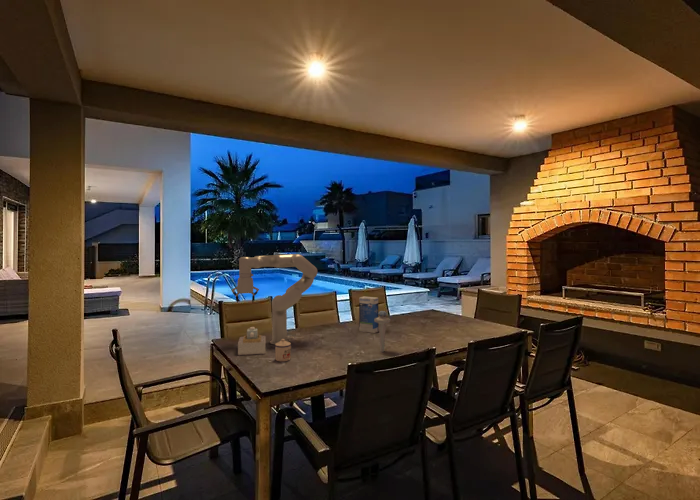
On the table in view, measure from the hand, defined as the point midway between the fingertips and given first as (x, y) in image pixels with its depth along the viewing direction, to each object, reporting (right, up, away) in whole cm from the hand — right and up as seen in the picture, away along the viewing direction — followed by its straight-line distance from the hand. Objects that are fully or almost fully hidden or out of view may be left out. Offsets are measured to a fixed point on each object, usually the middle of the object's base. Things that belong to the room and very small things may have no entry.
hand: (245, 302), depth 249 cm
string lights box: (+83, -28, +40) cm, 96 cm away
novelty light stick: (+88, -29, -12) cm, 94 cm away
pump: (+8, -22, -13) cm, 27 cm away
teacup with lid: (+30, -29, -28) cm, 50 cm away
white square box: (+8, -29, -12) cm, 32 cm away
